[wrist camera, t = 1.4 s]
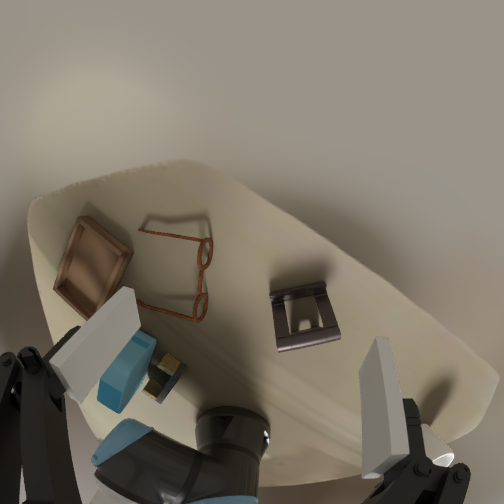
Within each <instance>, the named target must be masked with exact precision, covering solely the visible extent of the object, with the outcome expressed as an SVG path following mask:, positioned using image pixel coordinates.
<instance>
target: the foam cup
mask: <svg viewBox="0 0 504 504" xmlns="http://www.w3.org/2000/svg"><path fill="white" fill-rule="evenodd" d="M421 427H422V433H423V439H424V446H425V453H426V456H427V457H428V458H430V459H431V460H432V461H433V464H435V465H438V466H444V467H447V466H448V465H449V464H450V463H451V462H452V460H453V459H454V453H453V452H452V450H451V449H450V447H448V446H447V445H446V444H445V443H444V442H443V441H442V440H441V438H440V437H439V436H438V435H437V434H436V433H435V432H434V431H433V430H432V429H431V428H430V427H429V426H428V425H427V424H421Z"/></svg>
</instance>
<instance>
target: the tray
mask: <svg viewBox="0 0 504 504" xmlns="http://www.w3.org/2000/svg"><path fill="white" fill-rule="evenodd" d="M133 253H134V252H133V251H132V250H131V249H129V248H128V247H127V246H125V245H124V244H123V243H122V242H120V241H119V240H118V239H116V238H115V237H114V236H113V235H111V234H110V233H109V232H108V231H106V230H105V229H104V228H103V227H101V226H100V225H99V224H98V223H96V222H95V221H94V220H93V219H92V218H90V217H89V216H80V217H78V219H77V221H76V224H75V226H74V228H73V231H72V234H71V236H70V239H69V241H68V244H67V247H66V250H65V252H64V255H63V258H62V261H61V264H60V267H59V270H58V274H57V277H56V280H55V283H54V287H53V290H54V291H55V292H56V293H57V294H58V295H59V296H60V297H61V298H62V299H63V300H64V301H65V302H67V303H68V304H69V305H70V306H71V307H72V308H73V309H74V310H75V311H76V312H77V313H78V314H80V315H81V316H82V317H83V318H84V319H85V320H86V321H88V320H89V319H90V318H91V317H92V316H93V315H94V314H95V313H96V312H97V311H98V310H99V309H100V308H101V307H102V306H103V305H104V304H105V303H106V302H107V301H108V300H109V299H110V298H111V297H112V296H113V295H114V293H115V290H116V288H117V286H118V284H119V282H120V280H121V277H122V275H123V273H124V271H125V269H126V267H127V265H128V263H129V261H130V259H131V257H132V255H133Z"/></svg>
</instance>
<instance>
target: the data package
mask: <svg viewBox="0 0 504 504" xmlns="http://www.w3.org/2000/svg"><path fill="white" fill-rule="evenodd" d="M156 343H157V340H156V339H155V338H153V337H151V336H149V335H147V334H146V333H144V332H142V331H140V330H137V331H136V333H135V334H134V335H133V336H132V338H131V339H130V340H129V342H128V343H127V344H126V345H125V347H124V348H123V349H122V350H121V352H120V353H119V354H118V356H117V357H116V358H115V359H114V361H113V362H112V363H111V365H110V366H109V367H108V368H107V370H106V371H105V372H104V374H103V375H102V376H101V378H100V383H99V389H98V395H97V400H98V401H99V402H100V403H102V404H103V405H105V406H107V407H108V408H110V409H111V410H113V411H115V412H116V413H118V414H120V413H121V412H122V411H123V409H124V408H125V406H126V405H127V404H128V402H129V401H130V399H131V398H132V397H133V395H134V394H135V392H136V391H137V390H138V388H139V387H140V385H141V384H142V382H143V380H144V378H145V375H146V372H147V369H148V366H149V363H150V360H151V357H152V354H153V351H154V349H155V346H156Z"/></svg>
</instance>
